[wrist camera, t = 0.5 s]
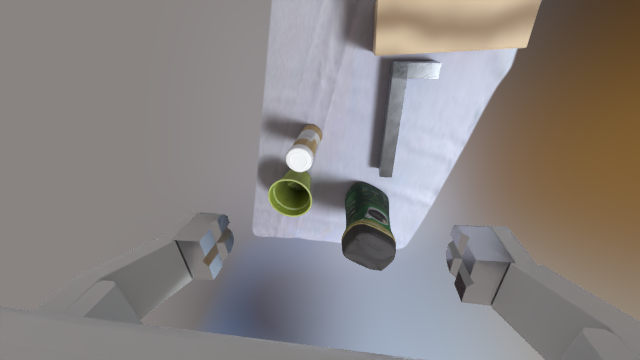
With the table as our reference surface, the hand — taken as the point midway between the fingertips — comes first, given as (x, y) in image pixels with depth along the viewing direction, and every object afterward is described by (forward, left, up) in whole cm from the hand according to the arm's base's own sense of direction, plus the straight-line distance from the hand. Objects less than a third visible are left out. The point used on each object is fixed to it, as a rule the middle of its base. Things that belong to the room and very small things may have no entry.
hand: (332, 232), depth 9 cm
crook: (+9, +9, -43) cm, 45 cm away
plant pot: (+22, -13, -44) cm, 51 cm away
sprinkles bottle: (+11, -9, -44) cm, 46 cm away
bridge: (-7, +13, -43) cm, 46 cm away
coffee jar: (+27, +3, -44) cm, 51 cm away
